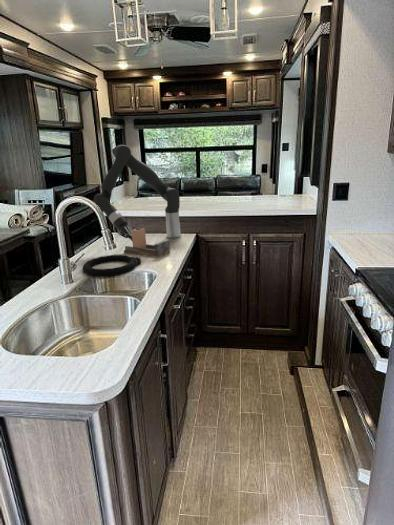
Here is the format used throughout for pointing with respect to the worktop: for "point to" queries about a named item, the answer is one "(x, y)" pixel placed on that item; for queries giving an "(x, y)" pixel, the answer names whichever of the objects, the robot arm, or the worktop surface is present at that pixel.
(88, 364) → the worktop surface
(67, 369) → the worktop surface
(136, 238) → the block
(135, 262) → the cable lock
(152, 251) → the channel board
